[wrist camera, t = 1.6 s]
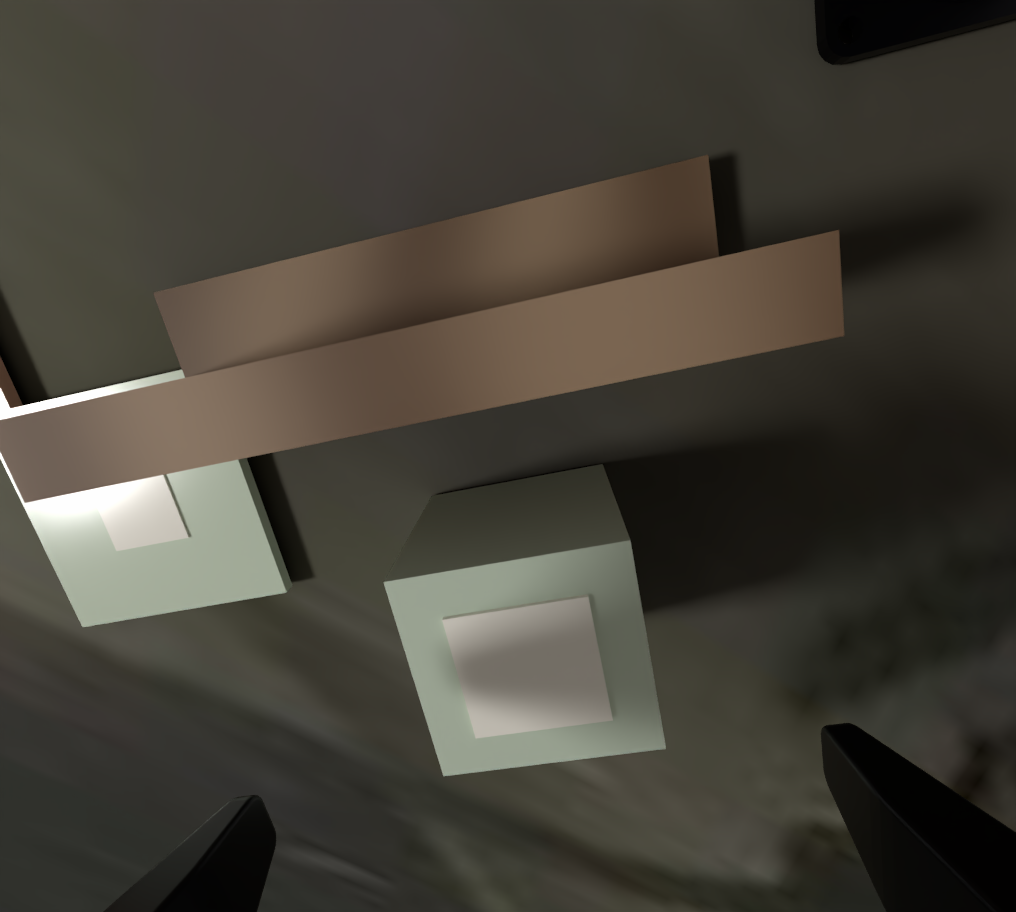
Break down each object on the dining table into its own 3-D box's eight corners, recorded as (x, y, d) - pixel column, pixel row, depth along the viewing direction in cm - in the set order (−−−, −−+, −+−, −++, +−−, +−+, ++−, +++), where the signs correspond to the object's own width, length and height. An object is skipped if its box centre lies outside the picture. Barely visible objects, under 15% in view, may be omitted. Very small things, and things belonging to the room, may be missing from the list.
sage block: (602, 463, 15) (631, 542, 10) (630, 620, 16) (667, 756, 12) (431, 495, 16) (382, 584, 11) (471, 644, 17) (443, 783, 12)
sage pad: (212, 362, 15) (202, 364, 14) (292, 585, 17) (285, 593, 16) (-7, 413, 16) (-23, 416, 15) (92, 620, 18) (81, 628, 17)
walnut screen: (700, 161, 13) (829, 49, 7) (719, 329, 14) (845, 352, 8) (168, 293, 14) (-79, 288, 9) (220, 435, 15) (31, 515, 10)
